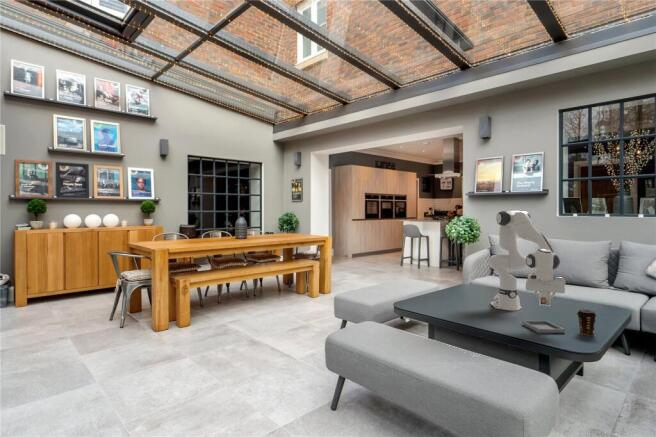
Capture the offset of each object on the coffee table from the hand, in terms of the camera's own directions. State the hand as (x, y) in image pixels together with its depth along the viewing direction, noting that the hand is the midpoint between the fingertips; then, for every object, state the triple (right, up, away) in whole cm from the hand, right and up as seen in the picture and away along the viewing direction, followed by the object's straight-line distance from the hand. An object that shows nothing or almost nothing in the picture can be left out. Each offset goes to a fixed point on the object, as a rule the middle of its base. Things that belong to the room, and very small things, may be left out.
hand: (544, 299), depth 208 cm
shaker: (0, -4, 0) cm, 4 cm away
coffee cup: (+16, -17, -12) cm, 27 cm away
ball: (0, -1, +1) cm, 2 cm away
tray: (-3, -17, -3) cm, 18 cm away
